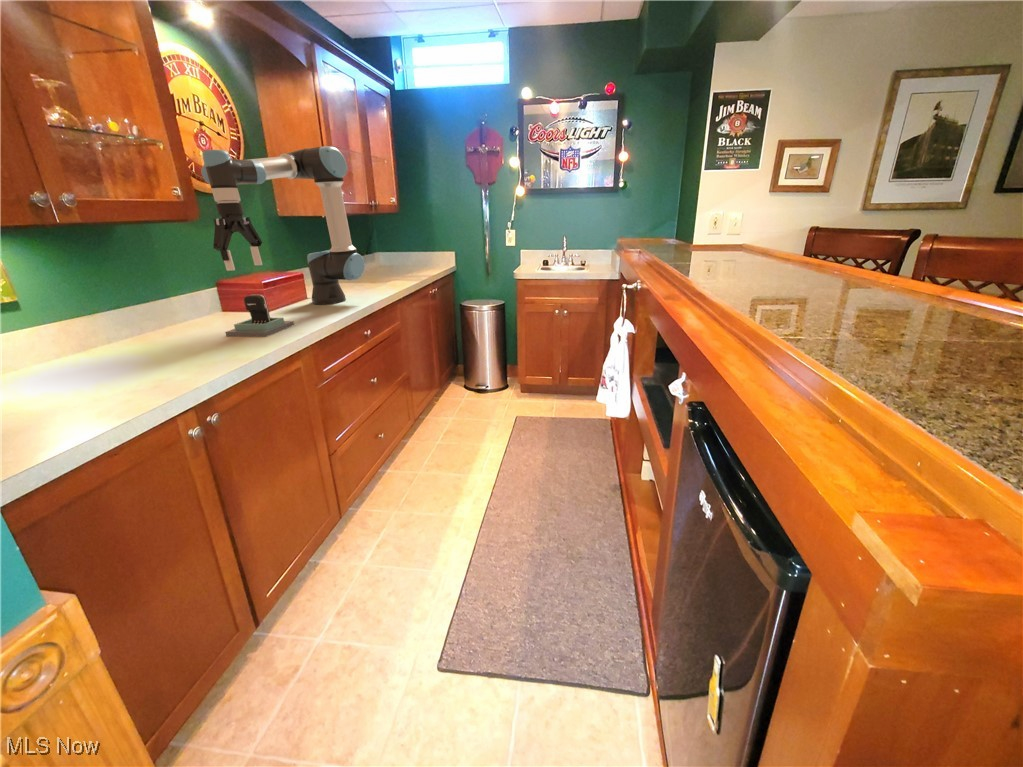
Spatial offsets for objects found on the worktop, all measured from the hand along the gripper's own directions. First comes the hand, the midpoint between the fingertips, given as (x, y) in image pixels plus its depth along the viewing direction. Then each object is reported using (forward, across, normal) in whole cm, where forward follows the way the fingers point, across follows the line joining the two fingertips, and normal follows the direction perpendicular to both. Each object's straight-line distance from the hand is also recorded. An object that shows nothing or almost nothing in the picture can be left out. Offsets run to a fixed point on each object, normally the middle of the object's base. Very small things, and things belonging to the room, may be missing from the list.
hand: (245, 267), depth 153 cm
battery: (+21, 0, 0) cm, 21 cm away
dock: (+23, 0, 0) cm, 23 cm away
